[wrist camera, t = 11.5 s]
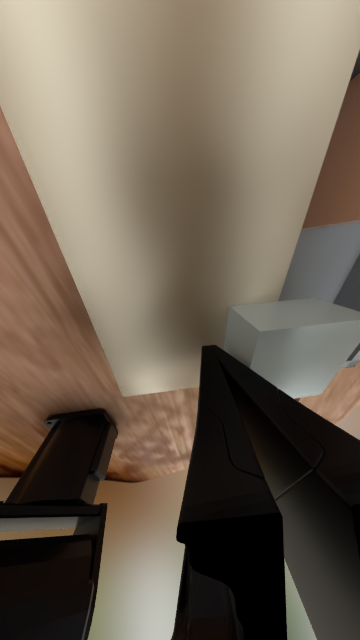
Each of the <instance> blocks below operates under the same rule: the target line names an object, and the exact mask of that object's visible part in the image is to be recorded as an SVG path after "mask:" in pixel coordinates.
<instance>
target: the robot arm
mask: <svg viewBox="0 0 360 640" xmlns="http://www.w3.org/2000/svg"><path fill="white" fill-rule="evenodd" d="M44 423H45V424H46V425H47V426H48V427H49V428H50V429H51V430H50V432H49V434H48V435H47V437H46V438H45V440H44V441H43V443H42V445H41V446H40V448H39V449H38V451H37V452H36V454H35V456H34V457H33V459H32V460H31V462H30V463H29V465H28V467H27V468H26V470H25V471H24V473H23V475H22V476H21V478H20V479H19V481H18V482H17V484H16V486H15V487H14V489H13V490H12V492H11V493H10V495H9V497H8V498H7V500H6V501H5V503H3V502H4V501H0V532H5V531H6V532H7V531H25V530H44V529H63V528H76V529H75V531H74V534H73V535H70V536H56V537H43V538H29V539H16V540H3V541H0V640H87V639H88V635H89V631H90V626H91V623H92V617H93V612H94V607H95V600H96V594H97V586H98V578H99V570H100V562H101V554H102V545H103V537H104V528H105V521H106V512H107V503H101V504H99V505H93V503H94V499H95V496H96V492H97V489H98V485H99V482H100V481H103V480H104V478H105V477H106V473H107V469H108V465H109V461H110V458H111V454H112V450H113V446H114V442H115V439H116V438H117V436H118V433H117V431H116V429H115V427H114V426H113V424H112V422H111V420H110V419H109V417H108V415H107V414H106V412H105V411H104V410H95V411H88V412H80V413H73V414H66V415H58V416H51V417H48V418H47V419H46V420H45V422H44ZM176 538H177V541H178V542H180V543H183V544H185V552H184V560H183V566H182V574H181V581H180V589H179V596H178V604H177V611H176V618H175V626H174V632H173V636H172V638H171V640H287V624H286V595H285V566H284V558H285V561H286V563H287V566H288V568H289V571H290V573H291V576H292V578H293V581H294V583H295V586H296V588H297V590H298V593H299V596H300V598H301V601H302V603H303V606H304V608H305V611H306V613H307V616H308V618H309V620H310V623H311V625H312V628H313V630H314V633H315V635H316V638H317V640H360V440H358V439H357V438H355V437H353V436H352V435H350V434H349V433H347V432H345V431H344V430H342V429H341V428H339V427H337V426H336V425H334V424H332V423H331V422H329V421H328V420H326V419H324V418H323V417H321V416H320V415H318V414H316V413H315V412H313V411H312V410H310V409H308V408H307V407H305V406H304V405H302V404H301V403H299V402H298V401H296V400H295V399H293V398H292V397H290V396H289V395H288V394H286V393H285V392H283V391H282V390H280V389H278V388H277V387H276V386H275V385H273V384H272V383H270V382H269V381H267V380H266V379H264V378H263V377H262V376H260V375H259V374H257V373H256V372H254V371H253V370H252V369H250V368H249V367H247V366H246V365H244V364H243V363H242V362H240V361H239V360H237V359H236V358H234V357H233V356H231V355H230V354H229V353H227V352H226V351H224V350H223V349H221V348H220V347H219V346H217V345H209V346H208V345H206V346H202V349H201V365H200V381H199V398H198V412H197V422H196V430H195V436H194V442H193V448H192V453H191V458H190V464H189V469H188V475H187V480H186V485H185V490H184V496H183V501H182V506H181V511H180V517H179V521H178V527H177V535H176Z"/></svg>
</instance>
